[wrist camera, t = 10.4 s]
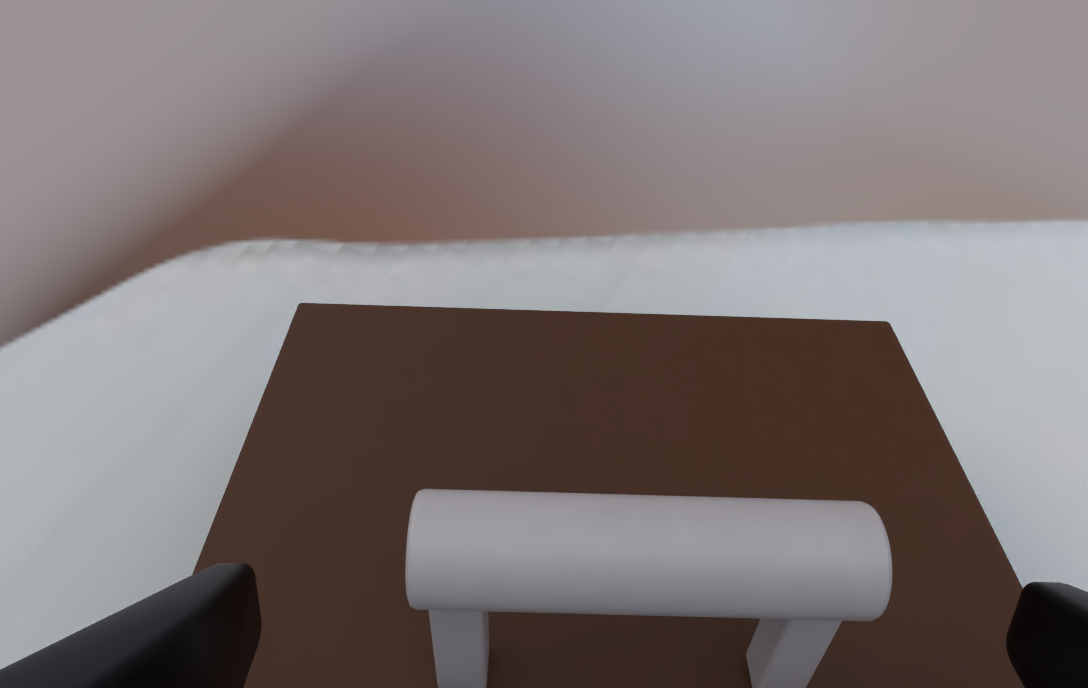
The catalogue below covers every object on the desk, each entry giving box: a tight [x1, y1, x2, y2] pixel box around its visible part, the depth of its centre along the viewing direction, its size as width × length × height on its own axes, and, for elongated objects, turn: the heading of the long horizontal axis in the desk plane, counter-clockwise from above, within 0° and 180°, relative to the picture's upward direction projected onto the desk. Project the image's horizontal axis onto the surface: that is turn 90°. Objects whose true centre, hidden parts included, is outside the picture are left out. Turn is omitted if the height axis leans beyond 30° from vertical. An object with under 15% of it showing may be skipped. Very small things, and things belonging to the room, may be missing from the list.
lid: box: [192, 303, 1025, 688], centre depth 13 cm, size 10×13×4 cm
